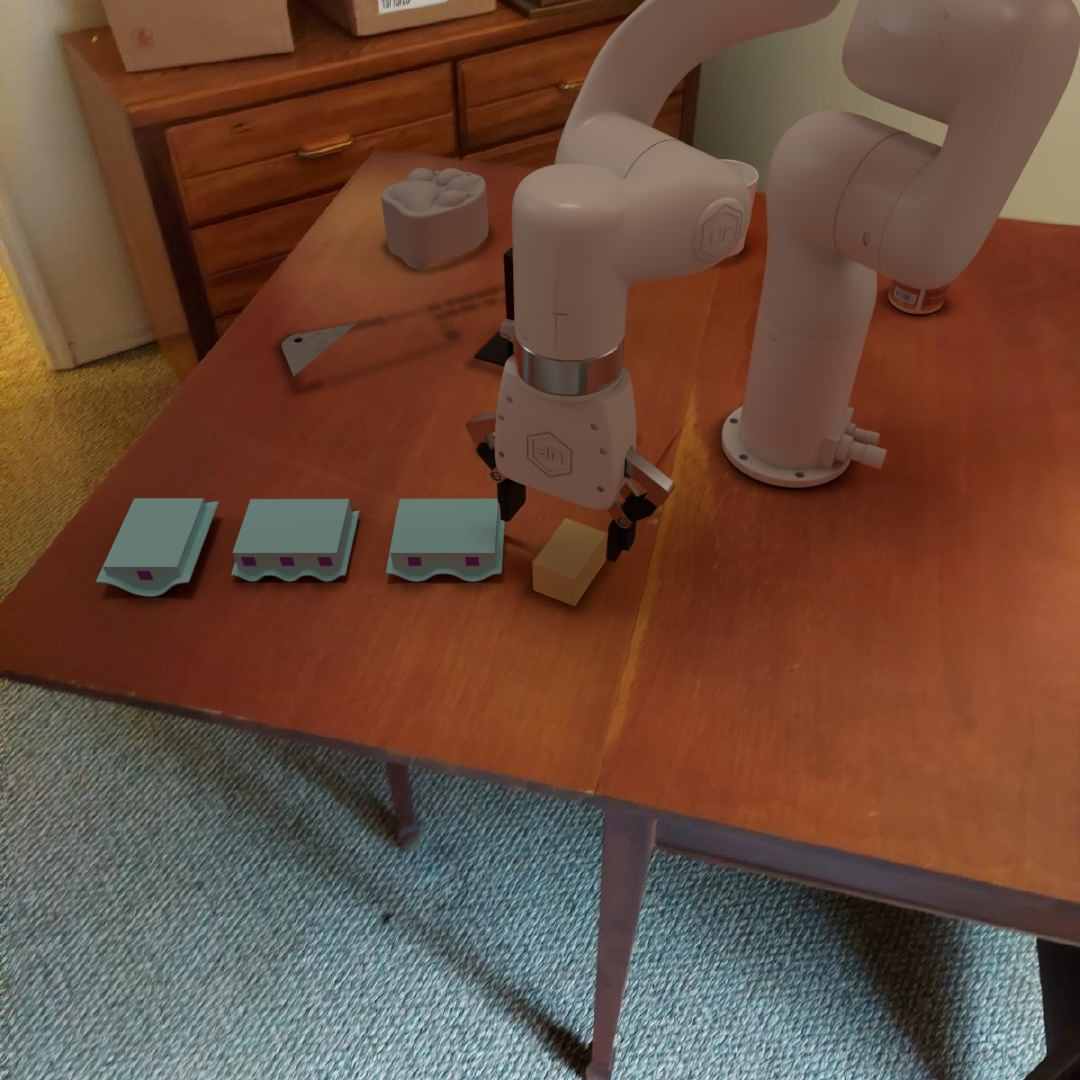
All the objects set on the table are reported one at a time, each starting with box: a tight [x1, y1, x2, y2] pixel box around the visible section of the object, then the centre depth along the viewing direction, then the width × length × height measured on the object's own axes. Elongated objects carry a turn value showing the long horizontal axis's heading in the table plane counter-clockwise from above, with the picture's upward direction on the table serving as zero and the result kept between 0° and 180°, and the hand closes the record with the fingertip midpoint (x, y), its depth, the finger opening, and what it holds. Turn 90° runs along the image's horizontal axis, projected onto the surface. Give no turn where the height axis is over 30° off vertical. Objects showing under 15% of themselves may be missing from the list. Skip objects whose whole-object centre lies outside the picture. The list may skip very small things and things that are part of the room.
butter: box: [531, 517, 608, 607], centre depth 81 cm, size 6×4×4 cm, turn 152°
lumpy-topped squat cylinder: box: [380, 167, 490, 271], centre depth 120 cm, size 10×13×9 cm
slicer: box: [474, 245, 515, 368], centre depth 102 cm, size 12×9×12 cm
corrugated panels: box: [95, 497, 506, 598], centre depth 84 cm, size 34×3×10 cm
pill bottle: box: [887, 279, 950, 315], centre depth 108 cm, size 6×6×11 cm
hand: (564, 530), depth 78 cm, fingers open, 9 cm apart
